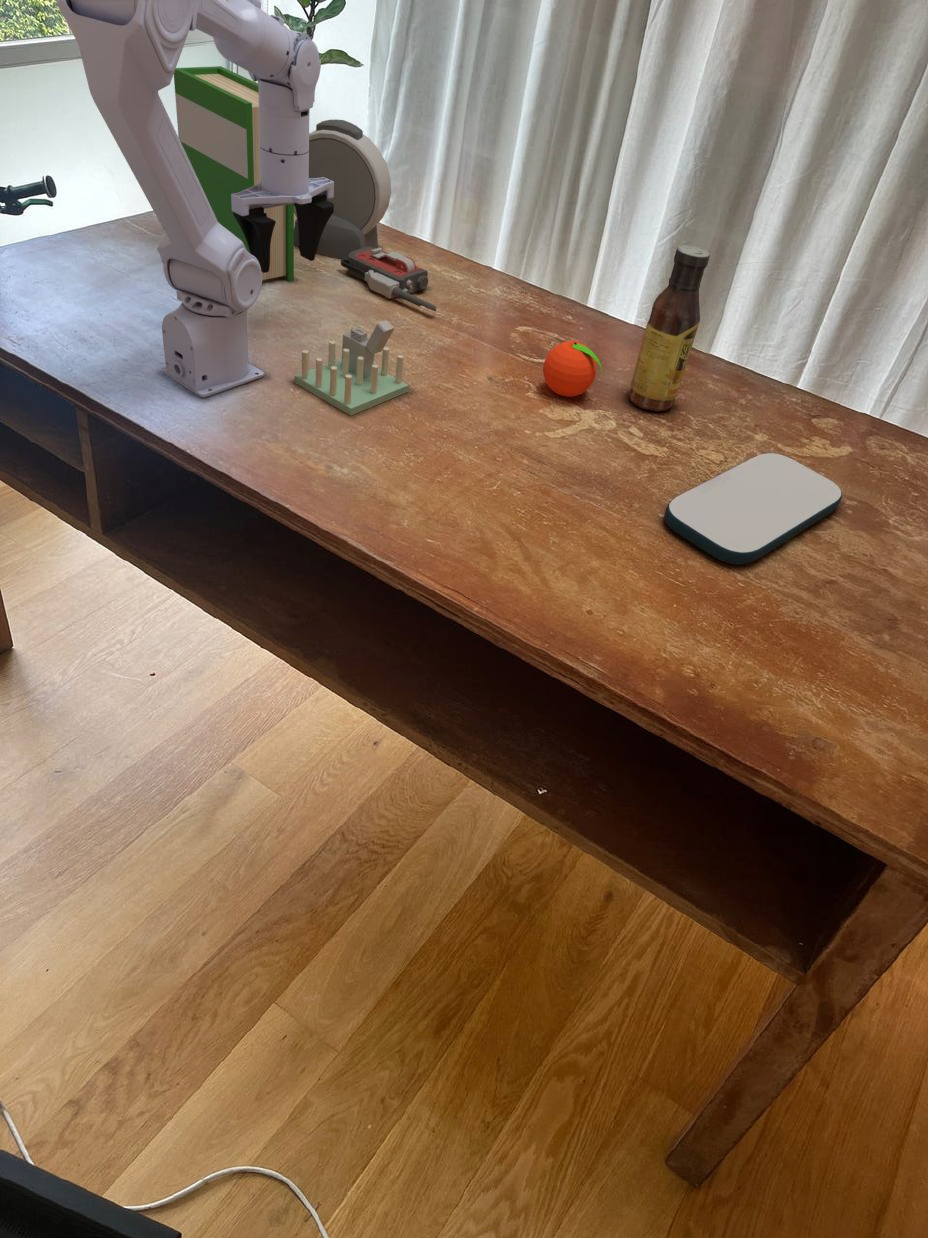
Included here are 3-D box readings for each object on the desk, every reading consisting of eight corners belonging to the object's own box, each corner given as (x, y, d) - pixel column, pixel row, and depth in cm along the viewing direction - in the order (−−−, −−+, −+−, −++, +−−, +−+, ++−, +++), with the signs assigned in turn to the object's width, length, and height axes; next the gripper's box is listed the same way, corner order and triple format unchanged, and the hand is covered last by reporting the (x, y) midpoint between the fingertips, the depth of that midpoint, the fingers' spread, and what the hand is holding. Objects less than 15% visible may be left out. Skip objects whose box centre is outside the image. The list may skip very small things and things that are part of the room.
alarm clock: (392, 246, 149) (401, 126, 137) (371, 266, 141) (379, 140, 129) (302, 225, 151) (303, 104, 139) (276, 243, 143) (275, 117, 131)
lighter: (340, 365, 113) (343, 304, 108) (350, 362, 114) (353, 301, 109) (380, 388, 110) (384, 326, 105) (390, 384, 111) (395, 323, 106)
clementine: (606, 396, 119) (619, 346, 114) (582, 415, 114) (594, 363, 109) (554, 375, 121) (565, 325, 117) (528, 392, 117) (539, 341, 112)
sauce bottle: (672, 418, 117) (720, 266, 104) (625, 407, 117) (667, 255, 104) (673, 395, 122) (720, 247, 108) (628, 385, 122) (669, 237, 109)
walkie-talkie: (329, 273, 137) (429, 320, 129) (330, 244, 134) (433, 290, 126) (368, 261, 143) (466, 305, 135) (370, 233, 140) (470, 276, 132)
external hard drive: (735, 576, 93) (742, 561, 91) (650, 520, 98) (654, 505, 97) (846, 506, 106) (853, 492, 105) (765, 460, 112) (771, 446, 110)
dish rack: (350, 415, 106) (352, 381, 103) (294, 382, 111) (294, 348, 108) (408, 391, 113) (411, 358, 110) (352, 361, 117) (354, 328, 114)
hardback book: (293, 280, 134) (294, 100, 118) (251, 288, 129) (245, 103, 113) (228, 239, 142) (220, 65, 126) (186, 246, 138) (173, 67, 122)
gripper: (257, 165, 99) (260, 286, 108) (352, 150, 108) (347, 262, 117) (217, 147, 102) (223, 266, 111) (313, 133, 111) (311, 244, 120)
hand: (284, 263), depth 114 cm, fingers open, 7 cm apart
